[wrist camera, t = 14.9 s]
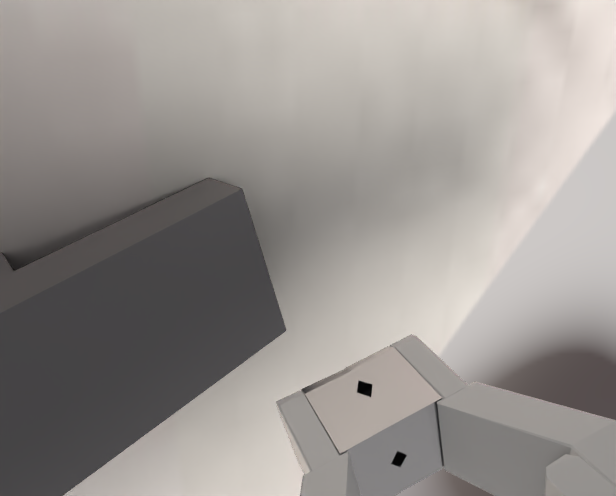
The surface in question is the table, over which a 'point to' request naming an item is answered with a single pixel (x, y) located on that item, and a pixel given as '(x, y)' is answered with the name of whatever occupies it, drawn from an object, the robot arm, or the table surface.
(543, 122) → the table surface
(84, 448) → the tile
